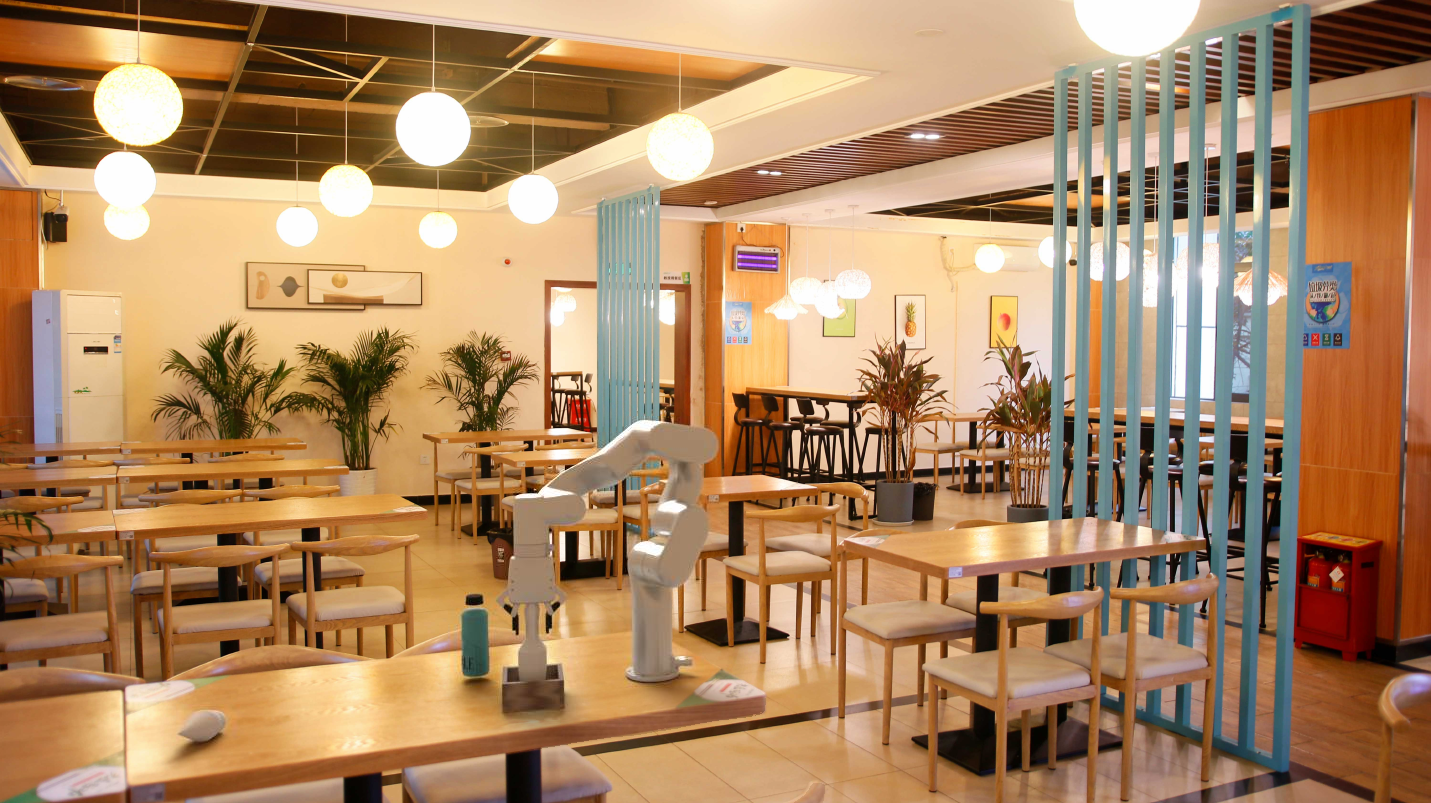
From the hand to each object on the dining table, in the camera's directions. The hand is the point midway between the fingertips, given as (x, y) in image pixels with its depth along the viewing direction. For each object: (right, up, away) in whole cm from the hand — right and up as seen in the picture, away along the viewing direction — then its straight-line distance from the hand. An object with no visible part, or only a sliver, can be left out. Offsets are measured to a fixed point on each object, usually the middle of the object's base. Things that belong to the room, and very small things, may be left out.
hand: (532, 632), depth 222 cm
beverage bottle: (-16, -15, +16) cm, 27 cm away
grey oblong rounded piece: (-60, -16, -24) cm, 67 cm away
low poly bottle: (0, -15, 0) cm, 15 cm away
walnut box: (0, -15, 0) cm, 15 cm away
